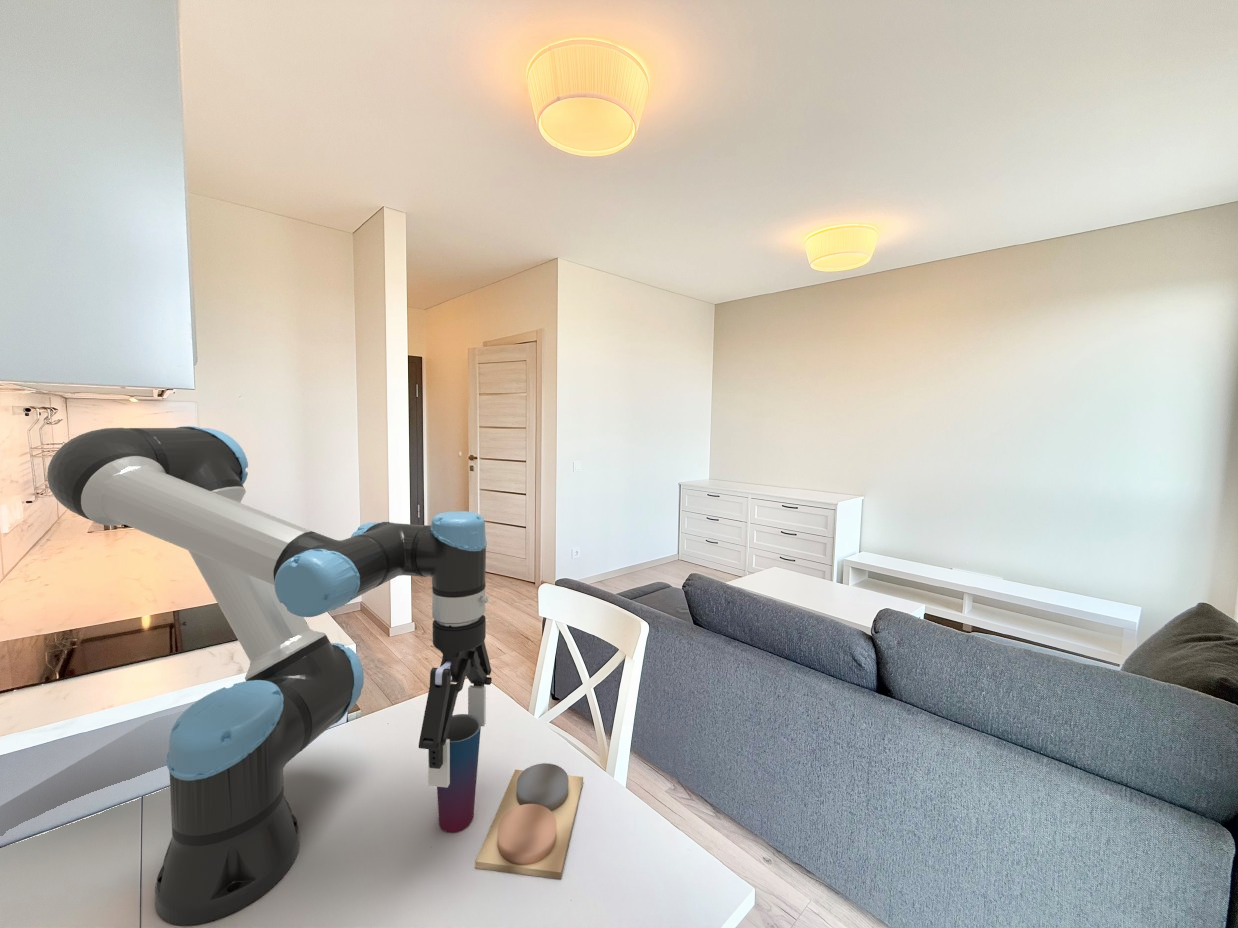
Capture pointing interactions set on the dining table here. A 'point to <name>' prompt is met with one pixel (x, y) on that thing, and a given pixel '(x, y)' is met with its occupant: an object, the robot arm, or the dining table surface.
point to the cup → (460, 774)
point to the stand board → (561, 828)
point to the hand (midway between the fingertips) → (459, 751)
